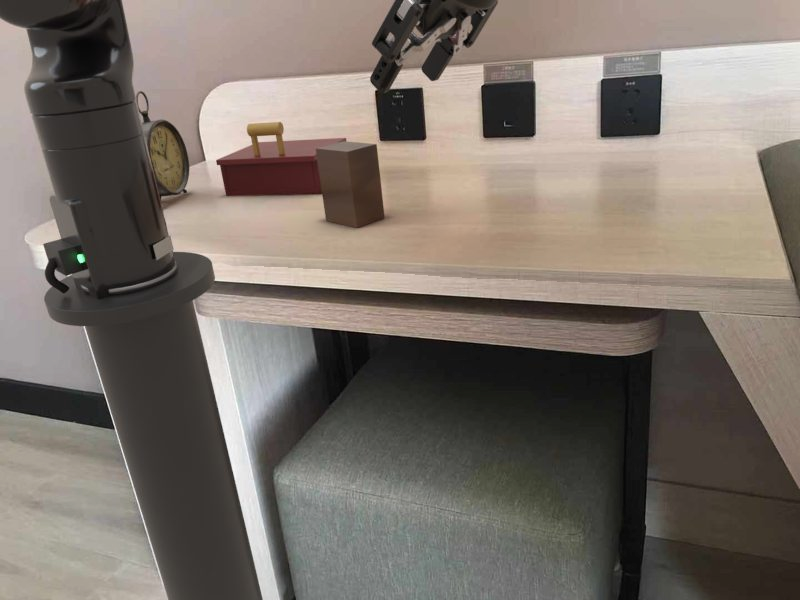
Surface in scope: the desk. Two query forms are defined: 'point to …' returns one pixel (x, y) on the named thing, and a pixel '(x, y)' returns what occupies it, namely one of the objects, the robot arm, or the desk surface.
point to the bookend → (350, 183)
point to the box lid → (275, 147)
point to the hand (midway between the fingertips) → (403, 81)
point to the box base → (271, 178)
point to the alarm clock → (166, 154)
